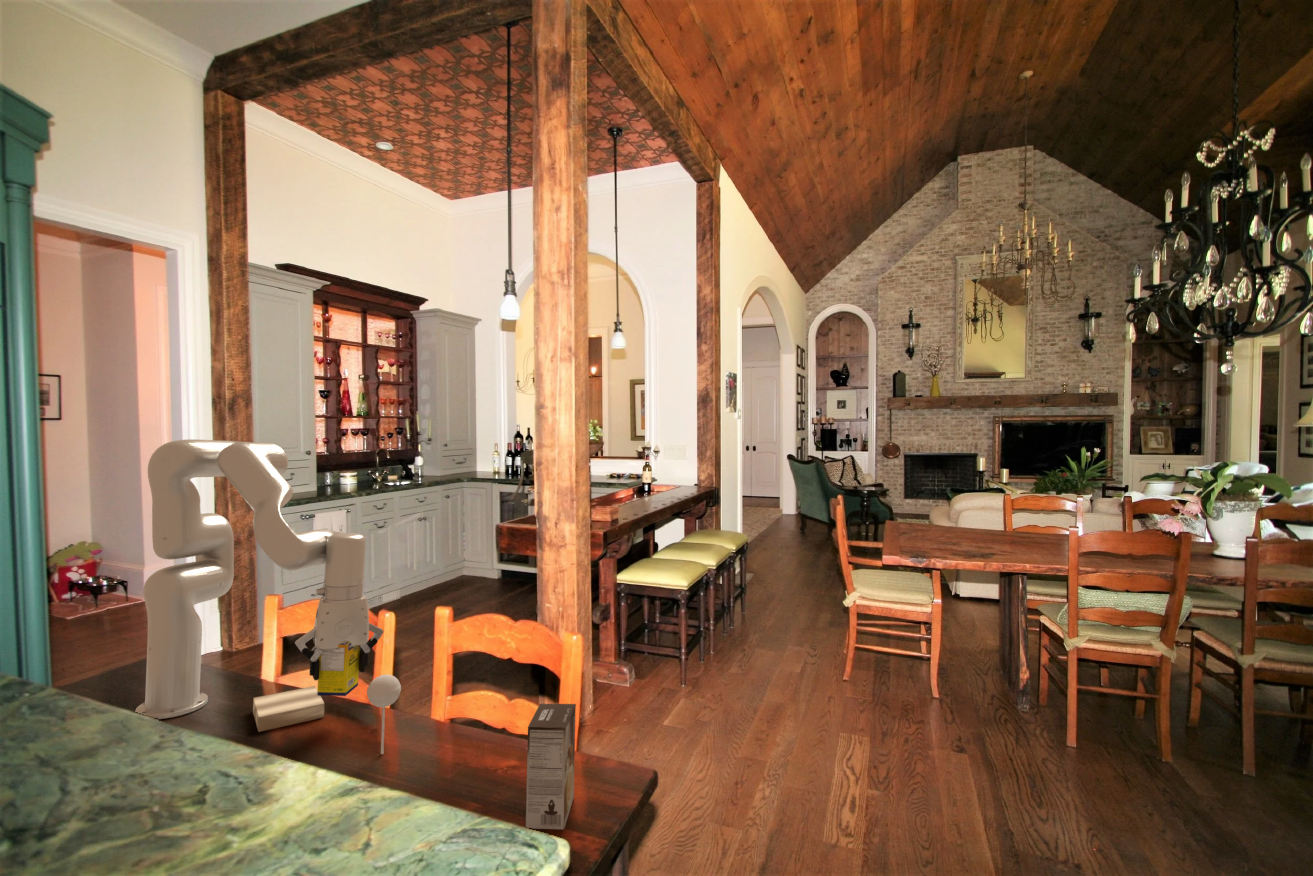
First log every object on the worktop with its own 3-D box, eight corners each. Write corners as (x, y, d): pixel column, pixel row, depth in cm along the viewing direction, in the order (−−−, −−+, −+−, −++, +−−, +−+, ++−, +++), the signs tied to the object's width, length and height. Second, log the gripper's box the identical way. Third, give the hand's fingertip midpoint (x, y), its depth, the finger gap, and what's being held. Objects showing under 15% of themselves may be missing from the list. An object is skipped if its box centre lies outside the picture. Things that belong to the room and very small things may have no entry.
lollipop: (406, 749, 119) (408, 672, 119) (383, 764, 113) (386, 683, 114) (380, 744, 121) (383, 668, 121) (357, 758, 115) (360, 678, 116)
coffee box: (537, 796, 104) (539, 701, 104) (574, 797, 104) (576, 703, 104) (524, 829, 95) (527, 725, 95) (565, 831, 95) (567, 727, 95)
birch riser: (252, 711, 134) (253, 698, 134) (314, 699, 142) (314, 686, 142) (258, 732, 125) (258, 717, 125) (323, 717, 132) (324, 703, 132)
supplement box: (358, 685, 132) (361, 635, 132) (345, 697, 126) (348, 644, 126) (330, 685, 132) (333, 634, 132) (316, 696, 126) (319, 643, 126)
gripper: (299, 600, 121) (294, 688, 121) (391, 591, 132) (386, 672, 132) (293, 592, 127) (288, 676, 127) (382, 584, 138) (377, 661, 137)
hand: (338, 673), depth 129 cm, fingers closed on supplement box, 8 cm apart
